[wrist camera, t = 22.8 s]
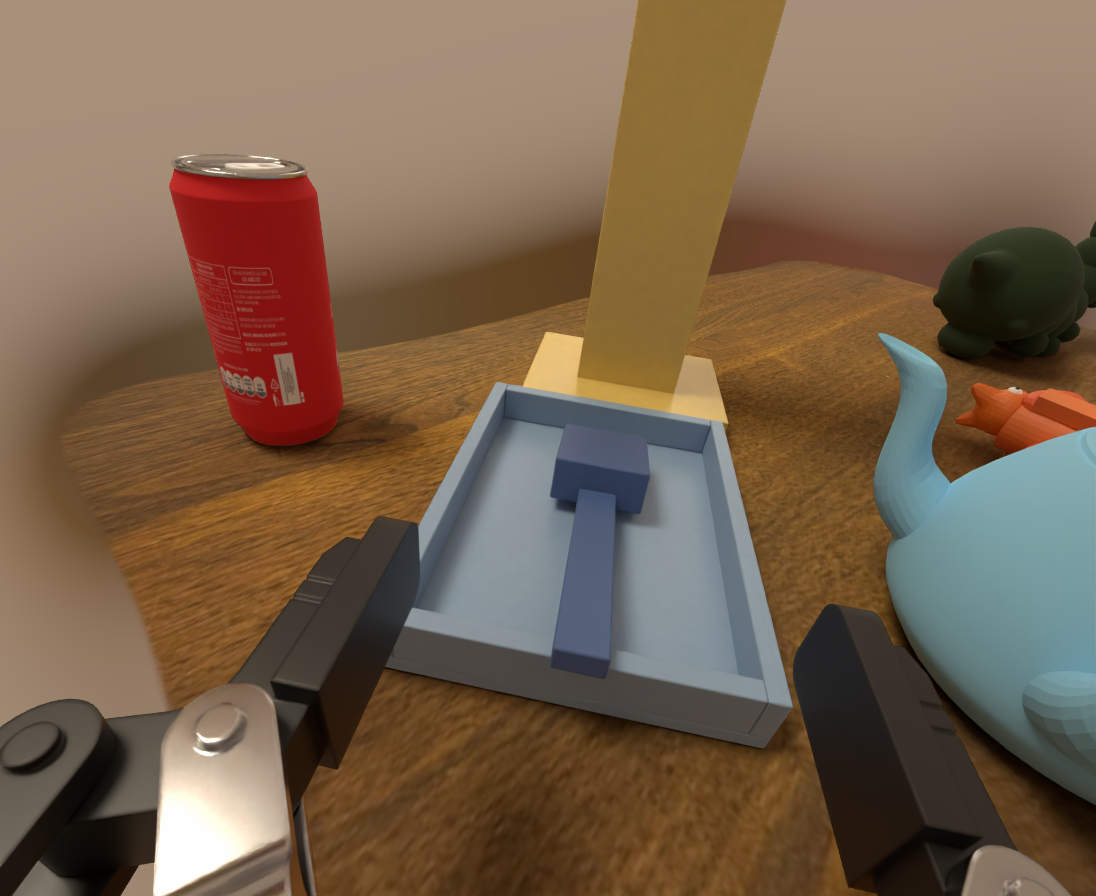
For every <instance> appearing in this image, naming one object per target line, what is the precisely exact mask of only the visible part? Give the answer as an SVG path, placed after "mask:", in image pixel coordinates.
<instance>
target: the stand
mask: <svg viewBox="0 0 1096 896" xmlns="http://www.w3.org/2000/svg"><path fill="white" fill-rule="evenodd" d="M785 3H786V0H638V5H637V11H636V17H635V23H634V30H633V36H632V42H631V48H630V54H629V60H628V67H627V73H626V79H625V85H624V92H623V97H622V104H621V110H620V116H619V122H618V128H617V135H616V141H615V147H614V153H613V159H612V165H611V171H610V178H609V184H608V190H607V196H606V202H605V208H604V215H603V221H602V228H601V233H600V239H599V245H598V252H597V258H596V264H595V270H594V276H593V282H592V289H591V295H590V301H589V307H588V313H587V319H586V326H585V332H584V338H580V337H574V336H568V335H563V334H557V333H551V332H546V333H545V335H544V338H543V340H542V342H541V345H540V347H539V349H538V351H537V354H536V356H535V358H534V360H533V363H532V365H531V367H530V370H529V372H528V374H527V376H526V379H525V381H524V383H523V387H528V388H534V389H539V390H545V391H551V392H556V393H562V394H568V395H573V396H579V397H585V398H590V399H596V400H602V401H607V402H613V403H619V404H624V405H630V406H636V407H641V408H647V409H653V410H658V411H664V412H670V413H675V414H681V415H687V416H692V417H698V418H704V419H709V420H715V421H721V422H723V425H724V429H725V432H726V429H727V427H728V420H727V416H726V412H725V408H724V405H723V401H722V397H721V393H720V389H719V386H718V382H717V378H716V374H715V371H714V367H713V363H712V360H710V359H704V358H699V357H693V356H687V355H685V353H686V350H687V346H688V343H689V339H690V336H691V332H692V329H693V325H694V322H695V318H696V315H697V311H698V308H699V304H700V301H701V297H702V294H703V290H704V287H705V283H706V280H707V276H708V273H709V269H710V266H711V262H712V259H713V255H714V252H715V248H716V245H717V241H718V238H719V234H720V231H721V227H722V224H723V220H724V217H725V213H726V210H727V206H728V203H729V199H730V196H731V192H732V189H733V185H734V182H735V178H736V175H737V171H738V168H739V164H740V161H741V157H742V154H743V150H744V147H745V143H746V140H747V136H748V133H749V129H750V126H751V122H752V119H753V115H754V112H755V108H756V105H757V101H758V98H759V94H760V91H761V87H762V84H763V80H764V76H765V73H766V70H767V66H768V63H769V59H770V56H771V52H772V49H773V45H774V42H775V38H776V35H777V31H778V28H779V24H780V21H781V17H782V14H783V10H784V6H785Z"/></svg>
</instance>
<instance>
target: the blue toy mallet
mask: <svg viewBox="0 0 1096 896" xmlns="http://www.w3.org/2000/svg"><path fill="white" fill-rule="evenodd" d="M649 479H650V468H649V457H648V447H647V438H645V437H640V436H635V435H629V434H623V433H618V432H612V431H607V430H601V429H596V428H590V427H585V426H579V425H574V424H568V423H567V424H566V425H565V428H564V431H563V435H562V438H561V442H560V446H559V449H558V453H557V456H556V461H555V467H554V473H553V479H552V485H551V492H550V497H551V498H556V499H561V500H567V501H572V502H577V503H576V509H575V515H574V521H573V527H572V533H571V539H570V545H569V551H568V557H567V563H566V569H565V575H564V581H563V587H562V593H561V599H560V605H559V611H558V617H557V623H556V629H555V635H554V641H553V647H552V653H551V658H550V664H549V665H550V667H551V668H553V669H558V670H562V671H567V672H572V673H577V674H581V675H586V676H591V677H596V678H600V679H605V678H606V677H607V673H608V669H609V665H610V661H611V640H612V609H613V579H614V548H615V518H616V510H619V511H625V512H630V513H635V514H640V513H641V510H642V507H643V503H644V499H645V495H646V491H647V487H648V483H649Z"/></svg>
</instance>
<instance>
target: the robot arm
mask: <svg viewBox="0 0 1096 896" xmlns="http://www.w3.org/2000/svg"><path fill="white" fill-rule="evenodd" d="M419 583H420V552H419V529H418V525H417V523H414V522H409V521H404V520H398V519H393V518H388V517H383V516H379V517H377V518H376V519H375V520H374V522H373V523H372V524H371V526H370V528H369V529H368V531H367V532H366V534H365V535H364V537H363V538H362V540H360V539H355V538H349V537H346V538H344V539H343V540H342V541H340V542H339V543H337V544H336V545H335V546H333V547H332V548H330V549H329V550H328V551H326V552H325V553H323V554H322V556H321V557H320V559H319V560H318V561H317V563H316V564H315V566H314V567H313V568H312V570H311V571H310V573H309V574H308V575H307V579H306V581H305V580H304V581H303V582H302V584H301V585H300V586H299V588H298V589H297V591H296V592H295V593H294V597H293V599H290V600H289V602H288V603H287V605H286V606H285V607H284V609H283V610H282V612H281V613H280V614H279V616H278V617H277V619H276V620H275V621H274V623H273V624H272V625H271V627H270V628H269V630H268V631H267V632H266V634H265V635H264V637H263V638H262V639H261V641H260V642H259V644H258V645H257V646H256V648H255V649H254V651H253V652H252V653H251V655H250V656H249V658H248V659H247V660H246V662H245V663H244V665H243V666H242V667H241V669H240V670H239V671H238V672H237V674H236V675H235V676H234V677H233V678H232V679H231V680H230V681H229V682H228V683H227V684H226V685H223V686H219V687H217V688H214V689H212V690H209V691H207V692H206V693H204V694H202V695H200V696H199V697H197V698H196V699H194V700H193V701H191V702H190V703H189V704H188V705H187V706H186V707H184V708H181V709H178V710H173V711H167V712H159V713H152V714H143V715H134V716H126V717H117V718H108V719H104V717H103V716H102V715H101V713H100V712H99V710H98V709H97V708H96V707H95V706H94V705H93V704H91V703H89V702H87V701H83V700H79V699H65V700H57V701H53V702H49V703H46V704H43V705H39V706H37V707H35V708H32V709H30V710H28V711H26V712H24V713H22V714H20V715H18V716H17V717H15V718H13V719H12V720H10V721H8V722H7V723H5V724H4V725H3V726H1V727H0V896H121V894H122V892H123V891H124V889H125V887H126V886H127V884H128V883H129V881H130V879H131V878H132V876H133V874H134V873H135V871H136V869H137V868H138V866H139V865H142V864H148V863H154V862H155V870H154V889H153V896H319V891H318V884H317V877H316V870H315V863H314V856H313V849H312V843H311V836H310V829H309V822H308V815H307V808H306V801H305V794H304V792H305V790H306V788H307V786H308V784H309V782H310V780H311V778H312V776H313V774H314V772H315V770H316V768H317V766H318V765H320V766H324V767H328V768H333V769H337V770H338V767H339V765H340V763H341V761H342V759H343V757H344V754H345V752H346V750H347V748H348V746H349V744H350V741H351V739H352V737H353V735H354V733H355V731H356V728H357V726H358V724H359V722H360V720H361V717H362V715H363V713H364V711H365V709H366V707H367V704H368V702H369V700H370V698H371V696H372V694H373V691H374V689H375V687H376V685H377V683H378V681H379V678H380V676H381V674H382V672H383V670H384V668H385V665H386V663H387V661H388V659H389V657H390V655H391V652H392V650H393V648H394V646H395V644H396V642H397V639H398V637H399V635H400V633H401V631H402V629H403V626H404V624H405V622H406V620H407V618H408V616H409V613H410V611H411V609H412V607H413V605H414V602H415V599H416V596H417V593H418V588H419ZM793 678H794V684H795V688H796V692H797V696H798V700H799V703H800V707H801V711H802V715H803V718H804V722H805V726H806V730H807V734H808V737H809V741H810V745H811V749H812V752H813V756H814V760H815V764H816V768H817V771H818V775H819V779H820V783H821V786H822V790H823V794H824V798H825V801H826V805H827V809H828V813H829V817H830V820H831V824H832V828H833V832H834V835H835V839H836V843H837V847H838V850H839V854H840V858H841V862H842V866H843V869H844V873H845V877H846V881H847V884H848V887H849V888H854V889H858V890H862V891H867V892H871V893H876V894H878V896H1072V895H1071V894H1070V893H1069V892H1068V891H1067V890H1066V889H1065V888H1064V886H1063V885H1062V884H1061V883H1060V882H1059V881H1058V880H1057V879H1055V878H1054V877H1053V876H1052V875H1051V874H1050V873H1049V872H1048V871H1046V870H1045V869H1044V868H1043V867H1042V866H1040V865H1039V864H1037V863H1036V862H1035V861H1033V860H1032V859H1030V858H1029V857H1027V856H1025V855H1023V854H1021V853H1020V852H1018V850H1017V849H1016V847H1015V845H1014V844H1013V842H1012V840H1011V838H1010V836H1009V834H1008V832H1007V830H1006V828H1005V826H1004V825H1003V823H1002V821H1001V819H1000V817H999V815H998V813H997V811H996V809H995V807H994V805H993V803H992V801H991V799H990V797H989V795H988V793H987V791H986V789H985V787H984V785H983V783H982V781H981V779H980V777H979V775H978V773H977V771H976V769H975V767H974V765H973V763H972V761H971V759H970V757H969V755H968V753H967V751H966V749H965V747H964V745H963V743H962V741H961V739H960V738H958V737H956V734H955V733H956V730H955V728H954V726H953V724H952V722H951V720H950V718H949V716H948V714H947V712H945V711H943V704H942V702H941V700H940V698H939V696H938V694H937V692H936V690H935V688H934V686H933V684H932V682H931V680H930V678H929V676H928V675H927V673H926V672H925V671H924V670H923V669H922V668H921V667H920V666H919V664H918V663H917V662H916V661H915V660H914V659H913V658H912V656H911V655H910V654H909V653H908V652H907V651H906V650H905V649H904V647H900V646H895V645H893V643H892V641H891V639H890V637H889V635H888V633H887V631H886V628H885V626H884V624H883V622H882V620H881V618H880V617H879V616H878V615H877V614H876V613H874V612H871V611H866V610H861V609H856V608H851V607H845V606H840V605H835V604H829V605H827V606H826V607H825V608H824V609H823V610H822V612H821V613H820V615H819V617H818V618H817V620H816V621H815V623H814V625H813V626H812V628H811V629H810V631H809V632H808V634H807V636H806V637H805V639H804V640H803V642H802V644H801V645H800V647H799V648H798V650H797V652H796V655H795V658H794V664H793Z"/></svg>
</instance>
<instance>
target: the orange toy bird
mask: <svg viewBox="0 0 1096 896" xmlns="http://www.w3.org/2000/svg"><path fill="white" fill-rule="evenodd" d="M971 393H972V395H973V396H974V398H975V400H976V403H977V404H976V406H975V408H974V410H973V411H971V412H968V413H965V414H963V415H960V416H959V417H958V418H957V419H956V424H960V425H965V426H970V427H975V428H977V429H980V430H983V431H985V432H986V433H988V434H991V435H994V436H997V437H996V439H995V441H994V446H996V447H998V448H1000V449H1002V450H1005V451H1007V453H1006V455H1005V456H1008V455H1010V454H1013V453H1015V452H1018V451H1020V450H1023V449H1026V448H1029V447H1031V446H1034V445H1037V444H1039V443H1042V442H1045V441H1047V440H1050V439H1053V438H1057V437H1060V436H1063V435H1067V434H1070V433H1073V432H1077V431H1080V430H1084V429H1087V428H1091V427H1096V406H1095V405H1093V404H1090V403H1088V402H1087V401H1086V400H1085V399H1084V398H1083V397H1082V396H1080V395H1079V394H1076V393H1072V392H1068V391H1057V390H1055V389H1052V388H1049V389H1048V390H1038V391H1035V392H1032V393H1029V394H1028V393H1027V392H1025V391H1023V390H1021V389H1020V388H1019V387H1011V388H1009V389H1004V390H998V389H996V388H993V387H991V386H988V385H985V384H980V383H977V384H974V385H973V386H972V388H971ZM1005 456H1004V457H1005Z"/></svg>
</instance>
